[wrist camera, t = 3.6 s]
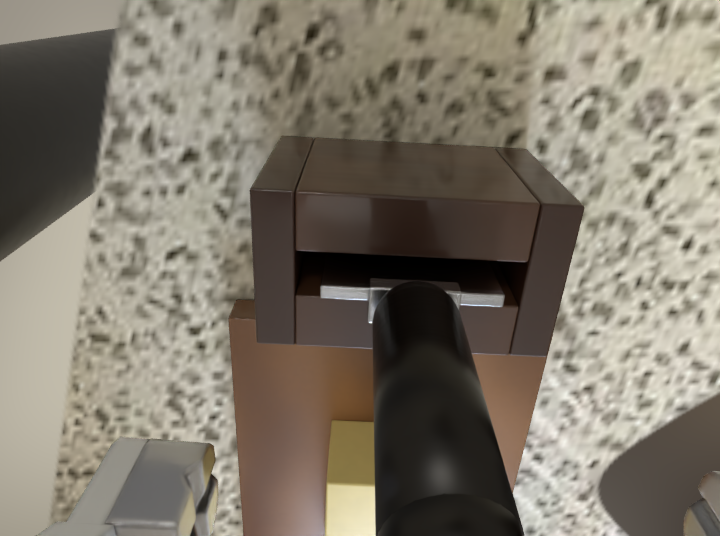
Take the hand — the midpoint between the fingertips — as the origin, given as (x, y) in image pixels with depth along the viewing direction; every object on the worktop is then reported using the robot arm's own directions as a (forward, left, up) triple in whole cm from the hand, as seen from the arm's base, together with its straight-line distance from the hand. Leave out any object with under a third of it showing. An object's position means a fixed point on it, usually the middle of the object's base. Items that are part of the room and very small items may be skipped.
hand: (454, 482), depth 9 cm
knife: (0, 0, -13) cm, 13 cm away
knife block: (0, 0, -13) cm, 13 cm away
